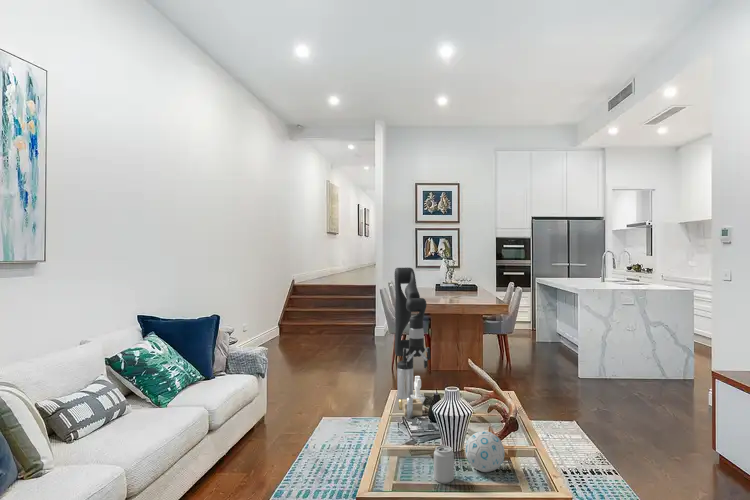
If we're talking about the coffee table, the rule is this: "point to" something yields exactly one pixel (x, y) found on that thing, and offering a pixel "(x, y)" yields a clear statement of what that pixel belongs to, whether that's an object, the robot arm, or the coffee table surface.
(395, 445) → the coffee table surface
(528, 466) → the coffee table surface
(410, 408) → the long pin
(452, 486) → the coffee table surface
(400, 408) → the short pin
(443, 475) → the can
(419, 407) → the hole block
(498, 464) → the puzzle ball
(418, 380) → the figurine
